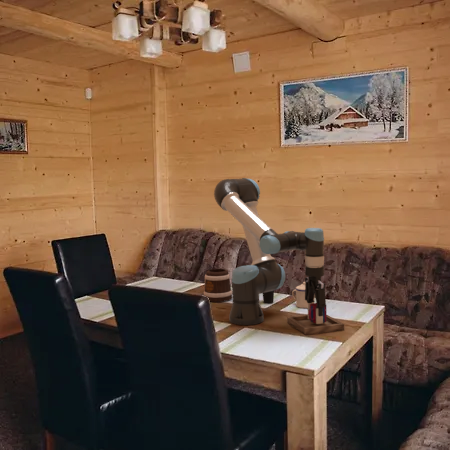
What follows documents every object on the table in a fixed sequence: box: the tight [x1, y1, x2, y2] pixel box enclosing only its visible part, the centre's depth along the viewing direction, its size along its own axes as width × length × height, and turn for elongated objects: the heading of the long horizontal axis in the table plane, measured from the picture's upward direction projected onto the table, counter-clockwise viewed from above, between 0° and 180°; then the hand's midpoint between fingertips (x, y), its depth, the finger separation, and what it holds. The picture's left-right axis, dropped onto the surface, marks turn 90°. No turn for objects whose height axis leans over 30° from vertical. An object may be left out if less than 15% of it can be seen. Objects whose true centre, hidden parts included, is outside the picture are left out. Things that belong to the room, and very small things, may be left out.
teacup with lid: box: [291, 281, 315, 309], centre depth 239 cm, size 12×9×12 cm
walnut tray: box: [286, 314, 345, 336], centre depth 207 cm, size 17×18×2 cm
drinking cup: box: [262, 290, 275, 305], centre depth 247 cm, size 8×8×20 cm
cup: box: [307, 302, 328, 323], centre depth 205 cm, size 7×10×7 cm
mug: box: [203, 268, 233, 303], centre depth 259 cm, size 20×15×15 cm
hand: (315, 320), depth 206 cm, fingers closed on cup, 7 cm apart
